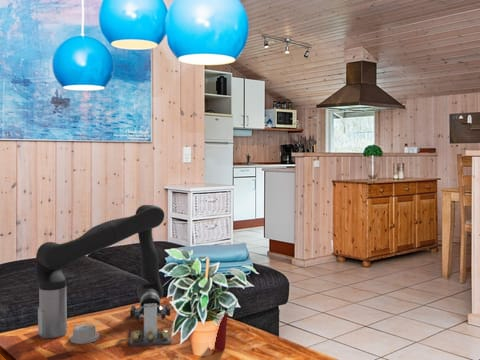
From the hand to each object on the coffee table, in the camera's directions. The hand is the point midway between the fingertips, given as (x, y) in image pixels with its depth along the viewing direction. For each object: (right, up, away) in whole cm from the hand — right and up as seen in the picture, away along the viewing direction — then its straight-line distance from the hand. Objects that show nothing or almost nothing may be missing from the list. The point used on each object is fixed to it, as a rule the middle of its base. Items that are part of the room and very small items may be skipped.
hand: (150, 317), depth 176 cm
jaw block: (0, -7, +2) cm, 8 cm away
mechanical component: (-24, -8, +2) cm, 25 cm away
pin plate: (0, -8, +2) cm, 9 cm away
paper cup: (+23, -9, -5) cm, 26 cm away
